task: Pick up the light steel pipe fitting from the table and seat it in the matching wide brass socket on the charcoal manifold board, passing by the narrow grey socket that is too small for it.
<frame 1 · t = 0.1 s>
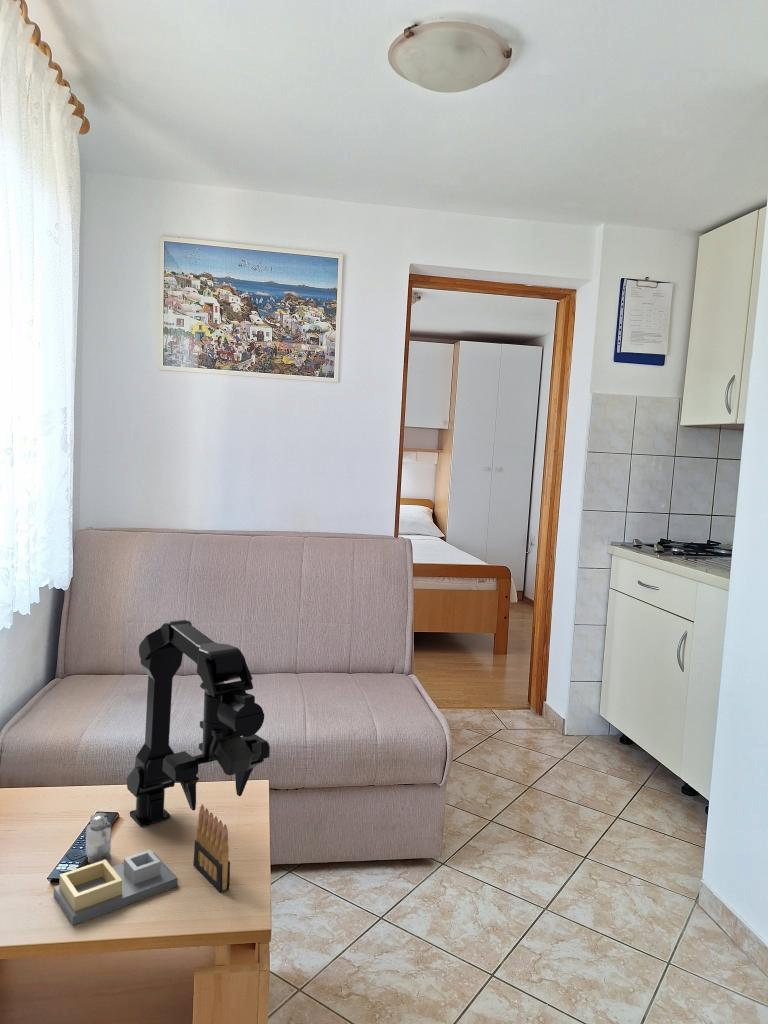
hand: (216, 802, 127), 15 cm above the table, tool pointing down, fingers open, 9 cm apart
steel fitting: (97, 857, 133), on the table
ammunition clip: (210, 878, 129), on the table
manifold board: (116, 890, 124), on the table
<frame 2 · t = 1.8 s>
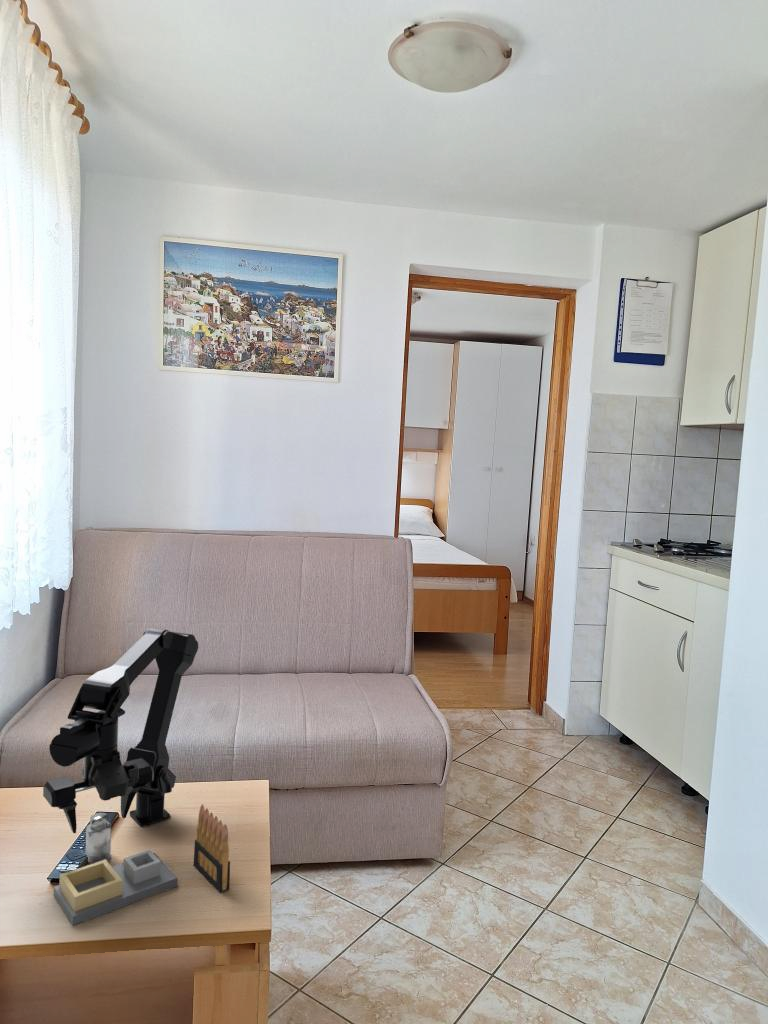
hand: (99, 824, 133), 6 cm above the table, tool pointing down, fingers open, 9 cm apart
nothing on the table moved.
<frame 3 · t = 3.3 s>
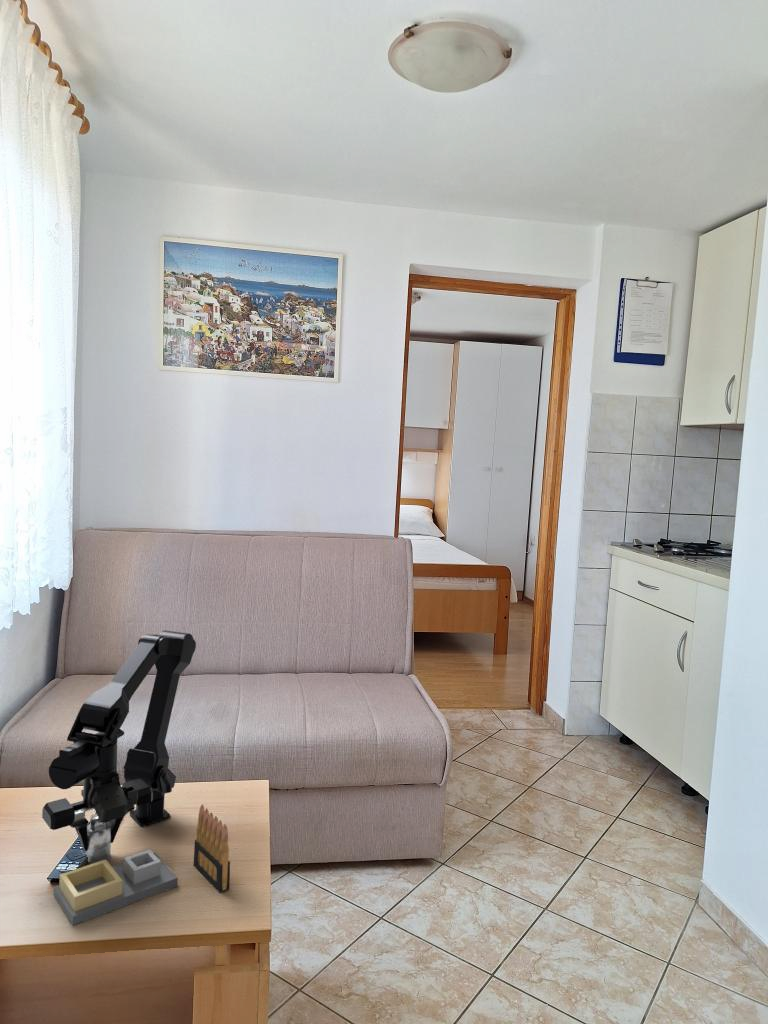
hand: (98, 846, 133), 2 cm above the table, tool pointing down, fingers closed on steel fitting, 4 cm apart
steel fitting: (97, 857, 133), on the table, touching gripper
everything else where it was.
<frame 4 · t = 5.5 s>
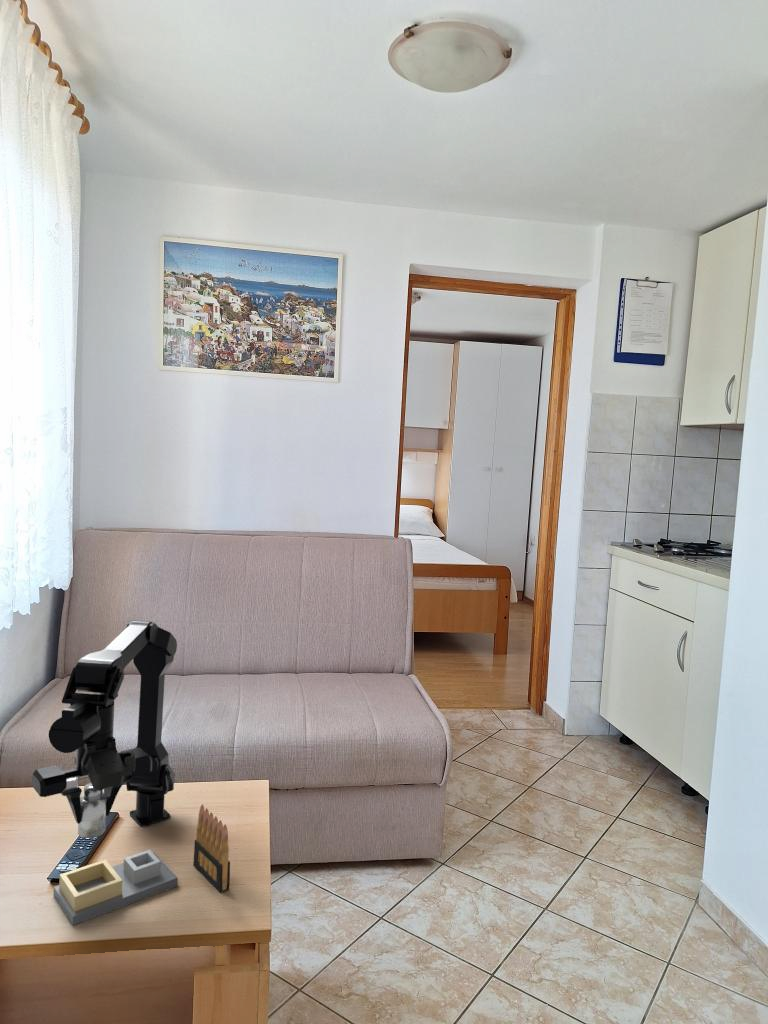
hand: (92, 818, 122), 13 cm above the table, tool pointing down, fingers closed on steel fitting, 4 cm apart
steel fitting: (91, 831, 122), point 11 cm above the table, touching gripper
everything else where it was.
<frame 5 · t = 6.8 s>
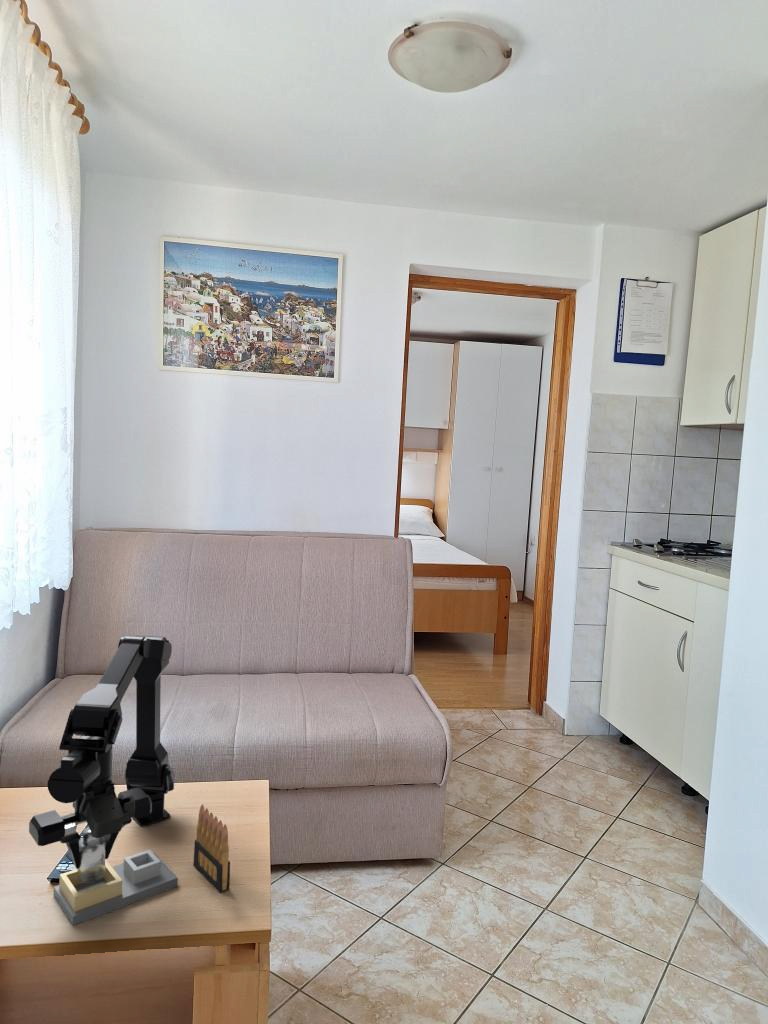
hand: (91, 862, 120), 7 cm above the table, tool pointing down, fingers closed on steel fitting, 4 cm apart
steel fitting: (91, 875, 120), point 4 cm above the table, touching gripper
everything else where it was.
when the fingers open (5 cm above the table, at t = 7.9 s): steel fitting drops 1 cm, resting on manifold board.
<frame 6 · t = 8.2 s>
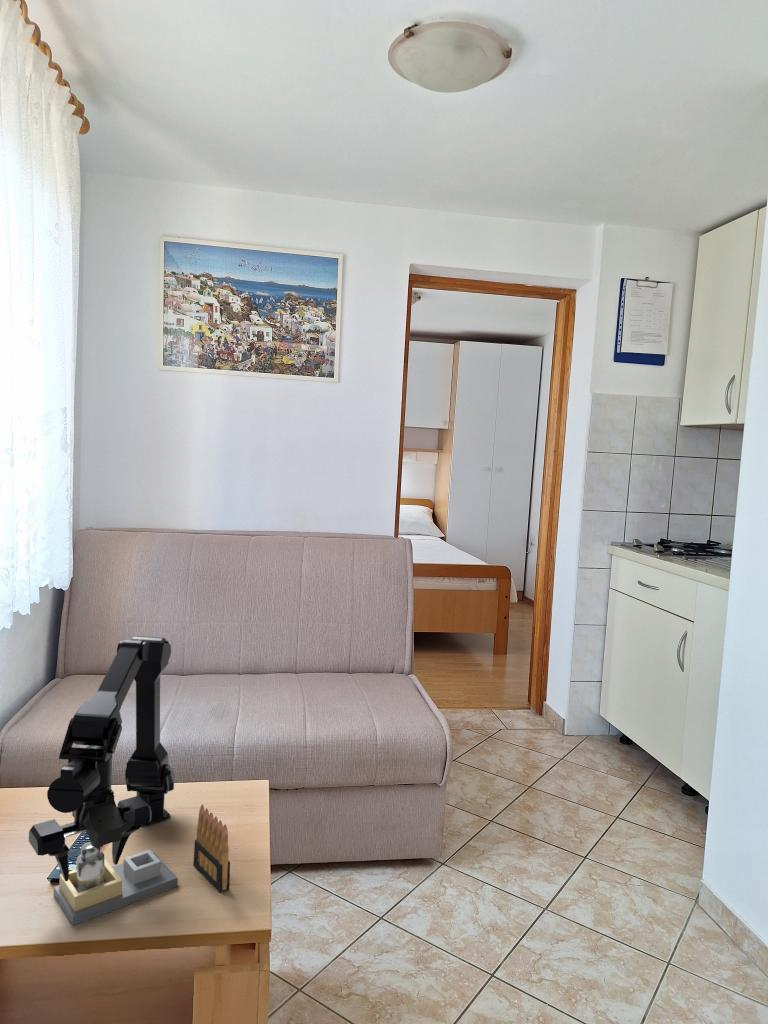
hand: (91, 871, 120), 5 cm above the table, tool pointing down, fingers open, 8 cm apart
steel fitting: (90, 891, 120), point 2 cm above the table, touching manifold board
everything else where it was.
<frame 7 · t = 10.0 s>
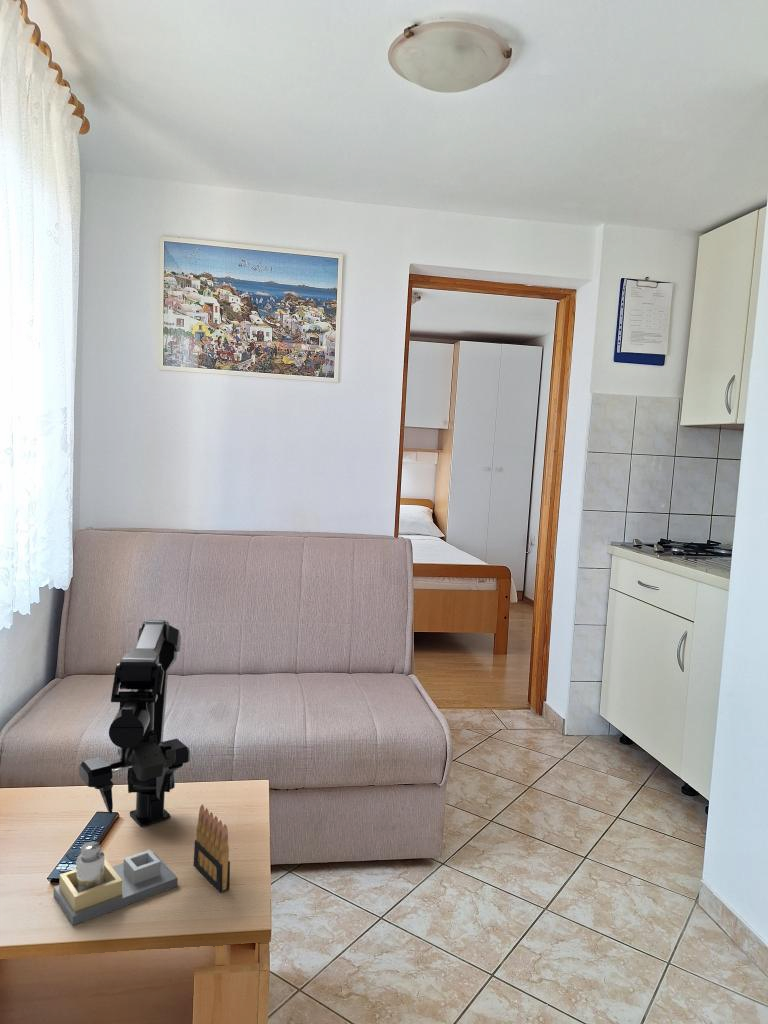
hand: (135, 805, 130), 12 cm above the table, tool pointing down, fingers open, 9 cm apart
nothing on the table moved.
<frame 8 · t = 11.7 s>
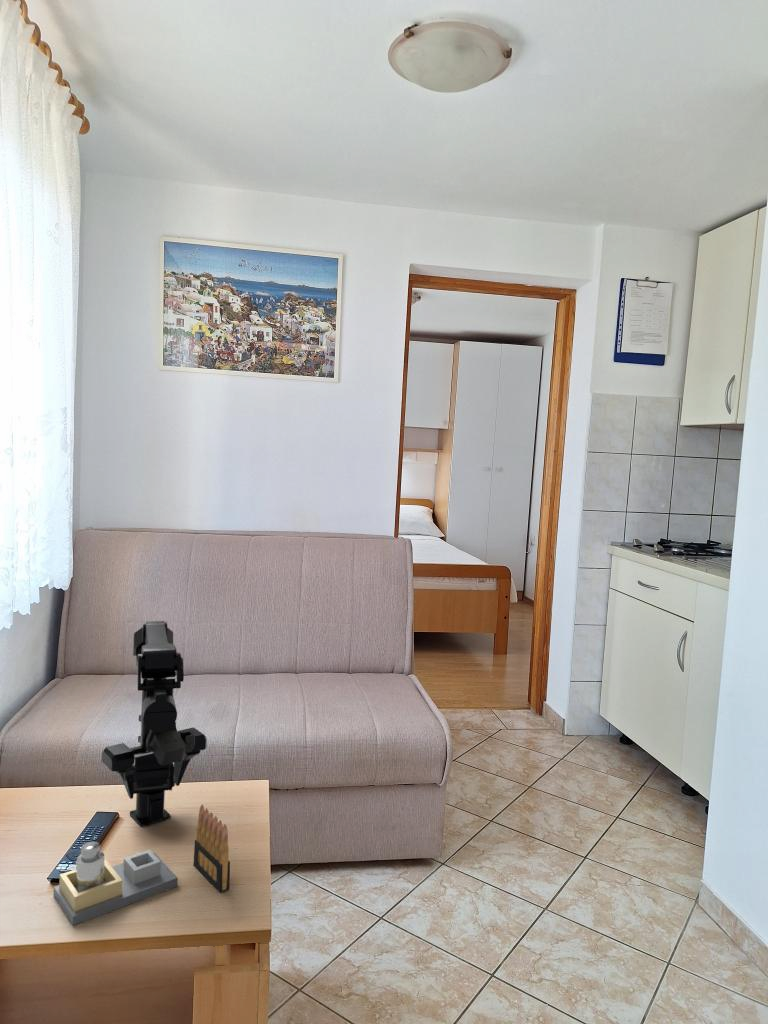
hand: (154, 791, 135), 12 cm above the table, tool pointing down, fingers open, 9 cm apart
nothing on the table moved.
at the end: steel fitting 0.0 cm from the target spot on the manifold board, point 1.6 cm above the manifold board's base; steel fitting tilted 1°; the gripper is holding nothing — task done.
